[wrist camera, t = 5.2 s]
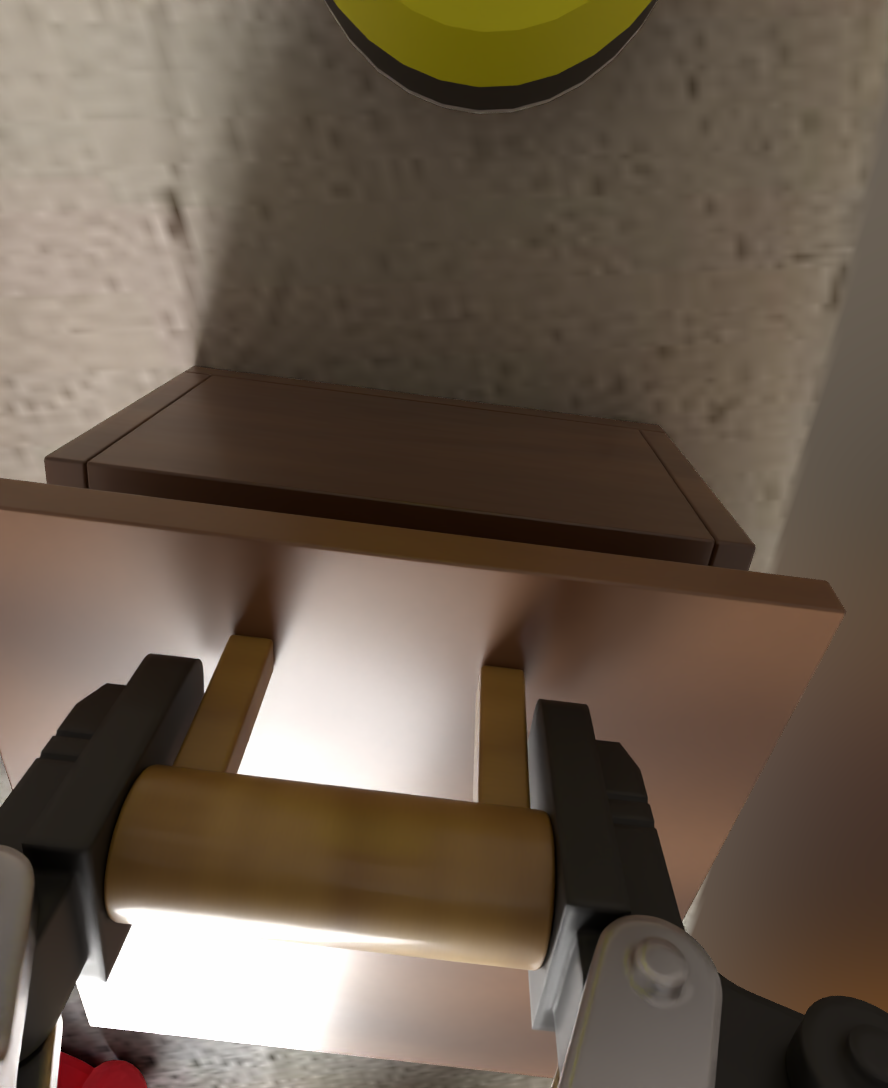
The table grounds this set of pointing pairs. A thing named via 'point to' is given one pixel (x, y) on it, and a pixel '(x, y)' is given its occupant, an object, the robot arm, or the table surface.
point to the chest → (408, 466)
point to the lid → (376, 752)
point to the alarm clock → (98, 1074)
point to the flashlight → (489, 46)
